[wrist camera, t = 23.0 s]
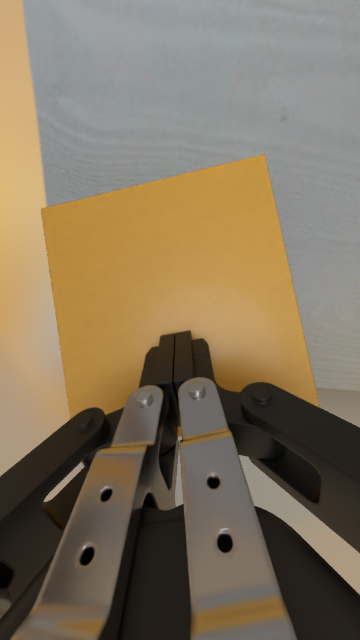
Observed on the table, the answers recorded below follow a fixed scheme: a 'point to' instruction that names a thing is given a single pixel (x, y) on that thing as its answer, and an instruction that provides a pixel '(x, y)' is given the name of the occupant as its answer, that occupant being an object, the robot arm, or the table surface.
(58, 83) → the table surface
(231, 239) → the lid
